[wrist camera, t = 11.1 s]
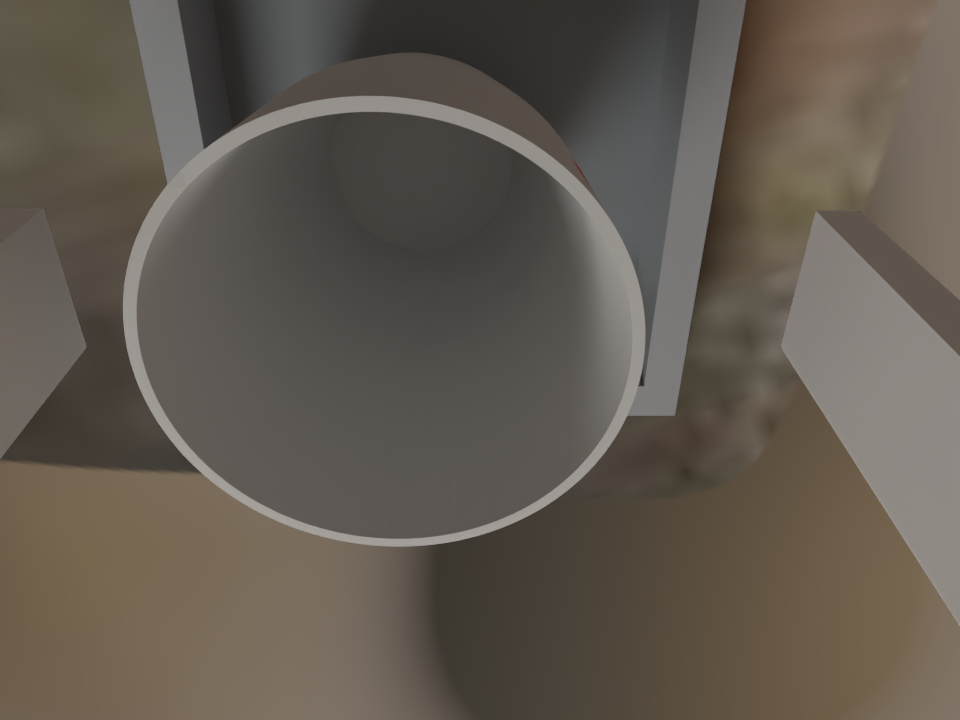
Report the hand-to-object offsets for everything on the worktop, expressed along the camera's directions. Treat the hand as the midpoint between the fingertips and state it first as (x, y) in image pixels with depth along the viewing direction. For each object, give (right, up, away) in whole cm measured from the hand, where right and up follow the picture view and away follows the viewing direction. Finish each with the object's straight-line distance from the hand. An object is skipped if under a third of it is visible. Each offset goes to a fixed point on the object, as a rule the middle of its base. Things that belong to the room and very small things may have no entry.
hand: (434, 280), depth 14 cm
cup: (-1, +4, +7) cm, 8 cm away
